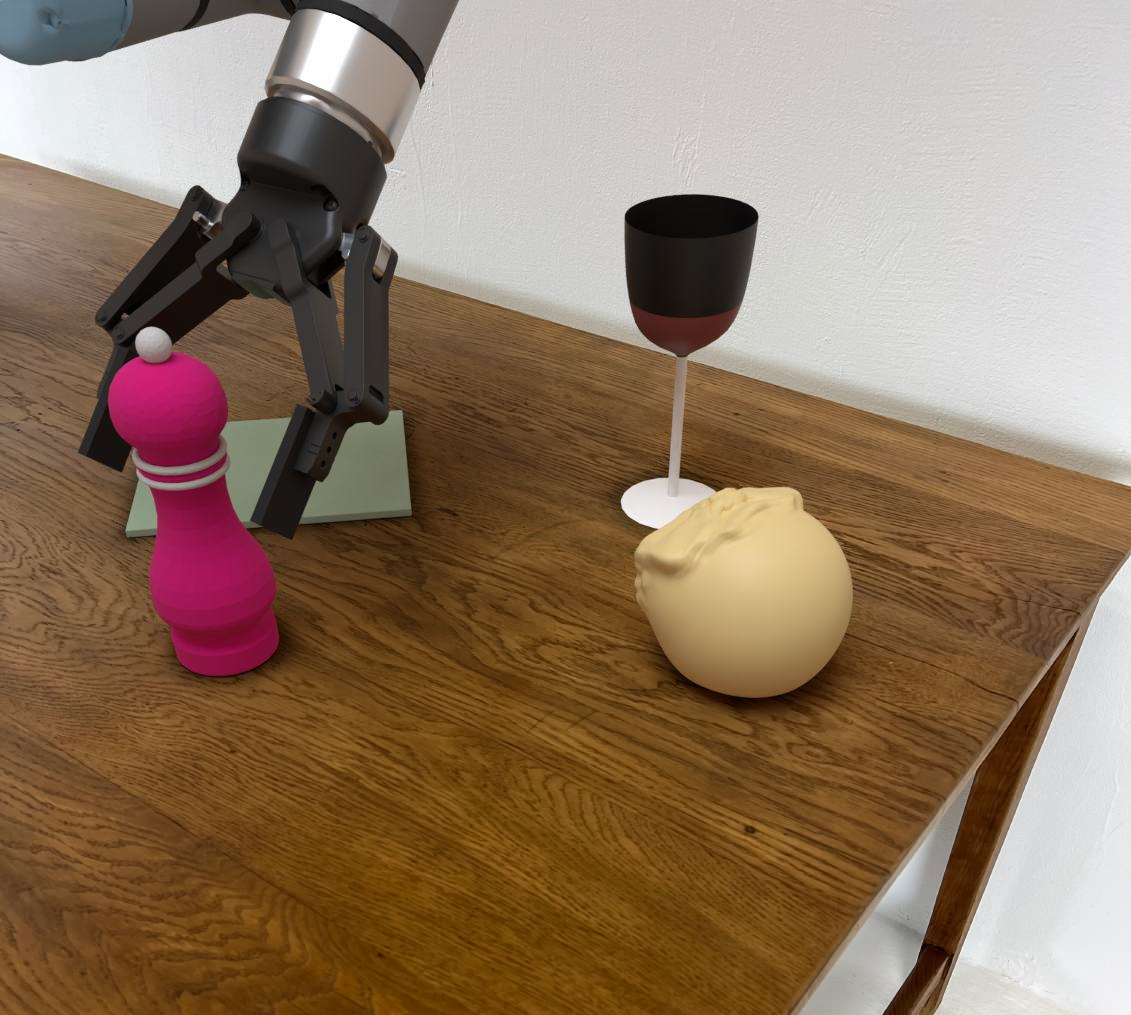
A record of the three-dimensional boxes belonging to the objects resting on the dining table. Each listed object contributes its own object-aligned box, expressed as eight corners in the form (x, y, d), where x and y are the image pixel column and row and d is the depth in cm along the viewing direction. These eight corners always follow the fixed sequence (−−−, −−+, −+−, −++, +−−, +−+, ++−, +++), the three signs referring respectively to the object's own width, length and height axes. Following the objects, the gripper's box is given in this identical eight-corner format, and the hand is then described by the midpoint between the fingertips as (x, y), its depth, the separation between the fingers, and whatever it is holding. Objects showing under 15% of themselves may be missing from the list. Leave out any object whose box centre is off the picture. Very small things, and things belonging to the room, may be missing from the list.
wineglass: (751, 498, 84) (785, 211, 71) (678, 546, 79) (700, 248, 66) (666, 463, 88) (683, 185, 75) (592, 507, 83) (596, 218, 70)
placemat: (127, 537, 80) (125, 530, 80) (154, 433, 92) (152, 426, 92) (411, 516, 82) (411, 508, 82) (402, 416, 94) (402, 409, 94)
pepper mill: (253, 599, 75) (184, 290, 61) (309, 651, 71) (248, 331, 57) (149, 641, 71) (51, 324, 58) (201, 698, 67) (110, 371, 54)
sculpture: (729, 583, 76) (745, 433, 69) (875, 666, 69) (911, 509, 62) (603, 653, 70) (606, 497, 63) (749, 750, 64) (772, 589, 56)
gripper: (543, 211, 61) (391, 581, 61) (211, 142, 71) (85, 460, 72) (478, 122, 54) (308, 540, 55) (121, 60, 64) (-17, 412, 65)
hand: (181, 496), depth 63 cm, fingers open, 13 cm apart
